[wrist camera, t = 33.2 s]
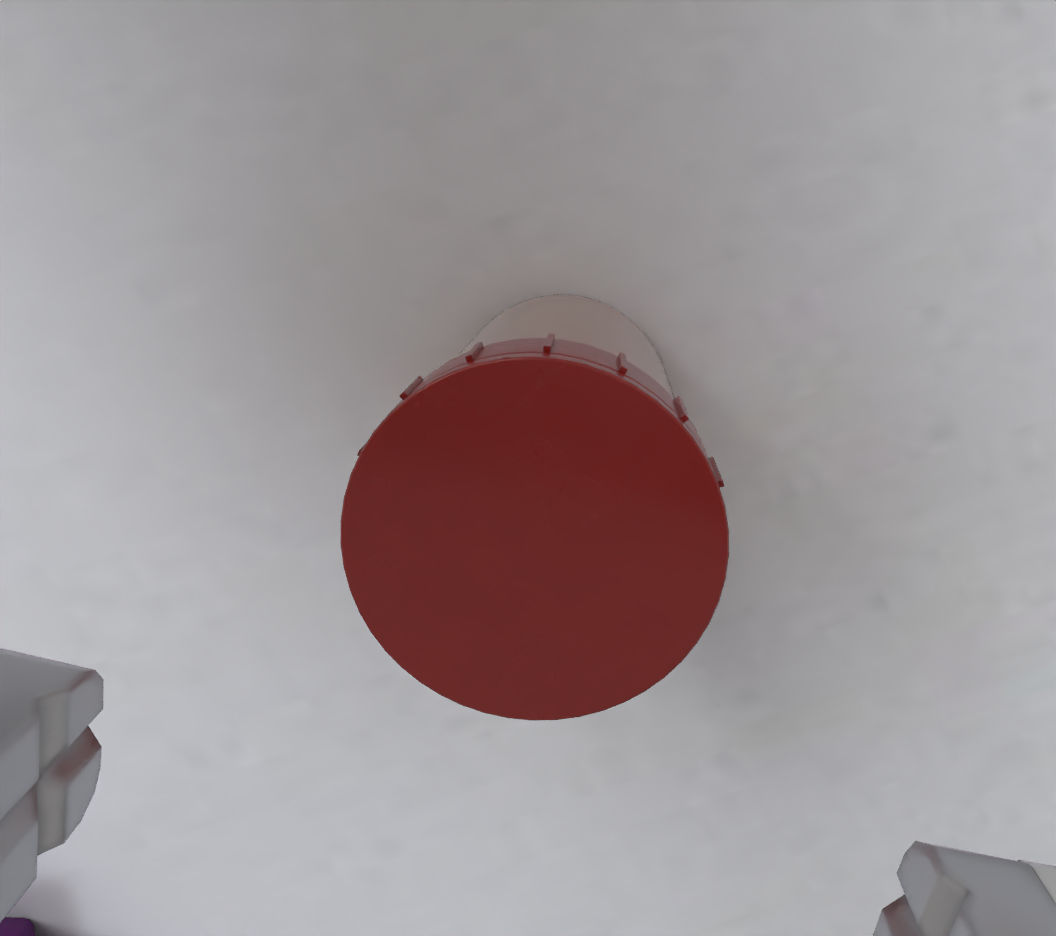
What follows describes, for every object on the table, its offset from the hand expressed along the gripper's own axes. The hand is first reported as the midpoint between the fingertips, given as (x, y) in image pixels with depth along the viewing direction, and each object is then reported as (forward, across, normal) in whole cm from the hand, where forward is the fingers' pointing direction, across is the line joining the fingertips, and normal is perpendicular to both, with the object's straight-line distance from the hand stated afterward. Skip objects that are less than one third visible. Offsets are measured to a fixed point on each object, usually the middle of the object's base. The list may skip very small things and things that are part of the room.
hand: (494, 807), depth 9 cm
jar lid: (+6, 0, 0) cm, 6 cm away
